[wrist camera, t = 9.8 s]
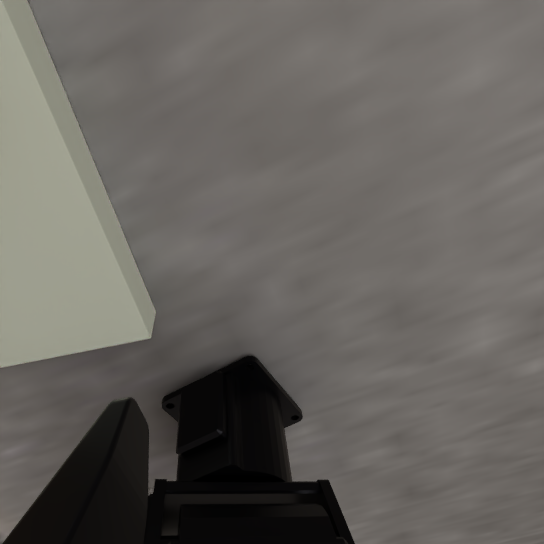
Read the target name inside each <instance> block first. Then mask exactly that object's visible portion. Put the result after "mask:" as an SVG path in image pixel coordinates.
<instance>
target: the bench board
mask: <svg viewBox="0 0 544 544" xmlns="http://www.w3.org/2000/svg"><path fill="white" fill-rule="evenodd" d="M155 315H156V311H155V308H154V306H153V304H152V301H151V299H150V296H149V294H148V292H147V289H146V287H145V284H144V282H143V279H142V277H141V275H140V272H139V270H138V267H137V265H136V262H135V260H134V258H133V255H132V253H131V250H130V248H129V245H128V243H127V241H126V238H125V236H124V233H123V231H122V229H121V226H120V224H119V221H118V219H117V216H116V214H115V212H114V209H113V207H112V204H111V202H110V199H109V197H108V195H107V192H106V190H105V187H104V185H103V182H102V180H101V178H100V175H99V173H98V170H97V168H96V165H95V163H94V161H93V158H92V156H91V153H90V151H89V149H88V146H87V144H86V141H85V139H84V136H83V134H82V132H81V129H80V127H79V124H78V122H77V119H76V117H75V115H74V112H73V110H72V107H71V105H70V102H69V100H68V98H67V95H66V93H65V90H64V88H63V86H62V83H61V81H60V78H59V76H58V73H57V71H56V69H55V66H54V64H53V61H52V59H51V56H50V54H49V52H48V49H47V47H46V44H45V42H44V39H43V37H42V35H41V32H40V30H39V27H38V25H37V23H36V20H35V18H34V15H33V13H32V10H31V8H30V6H29V3H28V1H27V0H0V368H2V367H7V366H12V365H17V364H23V363H28V362H33V361H38V360H43V359H48V358H53V357H58V356H63V355H69V354H74V353H79V352H84V351H89V350H94V349H99V348H104V347H109V346H115V345H120V344H125V343H130V342H135V341H140V340H145V339H150V338H151V336H152V331H153V325H154V320H155Z"/></svg>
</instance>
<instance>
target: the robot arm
mask: <svg viewBox="0 0 544 544" xmlns="http://www.w3.org/2000/svg"><path fill="white" fill-rule="evenodd" d="M249 364H253V365H249ZM162 408H163V409H164V410H165V411H166V412H167V413H168V414H169V415H171V416H172V417H173V418H174V419H175V420H176V421H178V433H177V444H176V453H177V454H178V467H177V479H176V481H167V479H155V485H154V492H153V494H150V495H149V496H148V458H149V429H148V424H147V422H146V419H145V418H144V416H143V414H142V412H141V410H140V408H139V406H138V404H137V402H136V401H135V399H133V398H130V397H128V398H123V399H118V400H114V401H112V402H111V403H110V404H109V405H108V406H107V407H106V409H105V410H104V411H103V412H102V414H101V415H100V416H99V418H98V419H97V420H96V422H95V423H94V424H93V426H92V427H91V428H90V430H89V431H88V432H87V433H86V435H85V436H84V437H83V439H82V440H81V441H80V443H79V444H78V445H77V447H76V448H75V449H74V450H73V452H72V453H71V454H70V456H69V457H68V458H67V460H66V461H65V462H64V464H63V465H62V466H61V468H60V469H59V470H58V471H57V473H56V474H55V475H54V477H53V478H52V479H51V481H50V482H49V483H48V485H47V486H46V487H45V488H44V490H43V491H42V492H41V494H40V495H39V496H38V498H37V499H36V500H35V502H34V503H33V504H32V506H31V507H30V508H29V509H28V511H27V512H26V513H25V515H24V516H23V517H22V519H21V520H20V521H19V523H18V524H17V525H16V526H15V528H14V529H13V530H12V532H11V533H10V534H9V536H8V537H7V538H6V540H5V541H4V542H3V544H355V543H354V541H353V538H352V536H351V533H350V531H349V528H348V526H347V524H346V521H345V519H344V516H343V514H342V511H341V509H340V507H339V504H338V502H337V499H336V497H335V494H334V492H333V490H332V487H331V485H330V482H329V480H317V482H292V477H291V470H290V463H289V457H288V450H287V443H286V437H285V430H284V428H286V427H288V426H290V425H292V424H295V423H297V422H299V421H301V419H302V417H303V416H302V411H301V409H300V408H299V407H298V406H297V405H296V403H295V402H294V401H293V400H292V399H291V397H290V396H289V395H288V394H287V393H286V392H285V390H284V389H283V388H282V387H281V386H280V385H279V383H278V382H277V381H276V380H275V379H274V378H273V376H272V375H271V374H270V373H269V372H268V371H267V369H266V368H265V367H264V366H263V365H262V364H261V362H260V361H259V360H258V359H257V358H256V357H253V356H247V357H244V358H242V359H240V360H238V361H236V362H234V363H232V364H230V365H228V366H226V367H224V368H222V369H220V370H218V371H216V372H214V373H212V374H210V375H208V376H206V377H204V378H202V379H200V380H198V381H195V382H193V383H191V384H189V385H187V386H185V387H183V388H181V389H179V390H177V391H175V392H173V393H171V394H169V395H167V396H165V397H164V398H163V400H162Z"/></svg>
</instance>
